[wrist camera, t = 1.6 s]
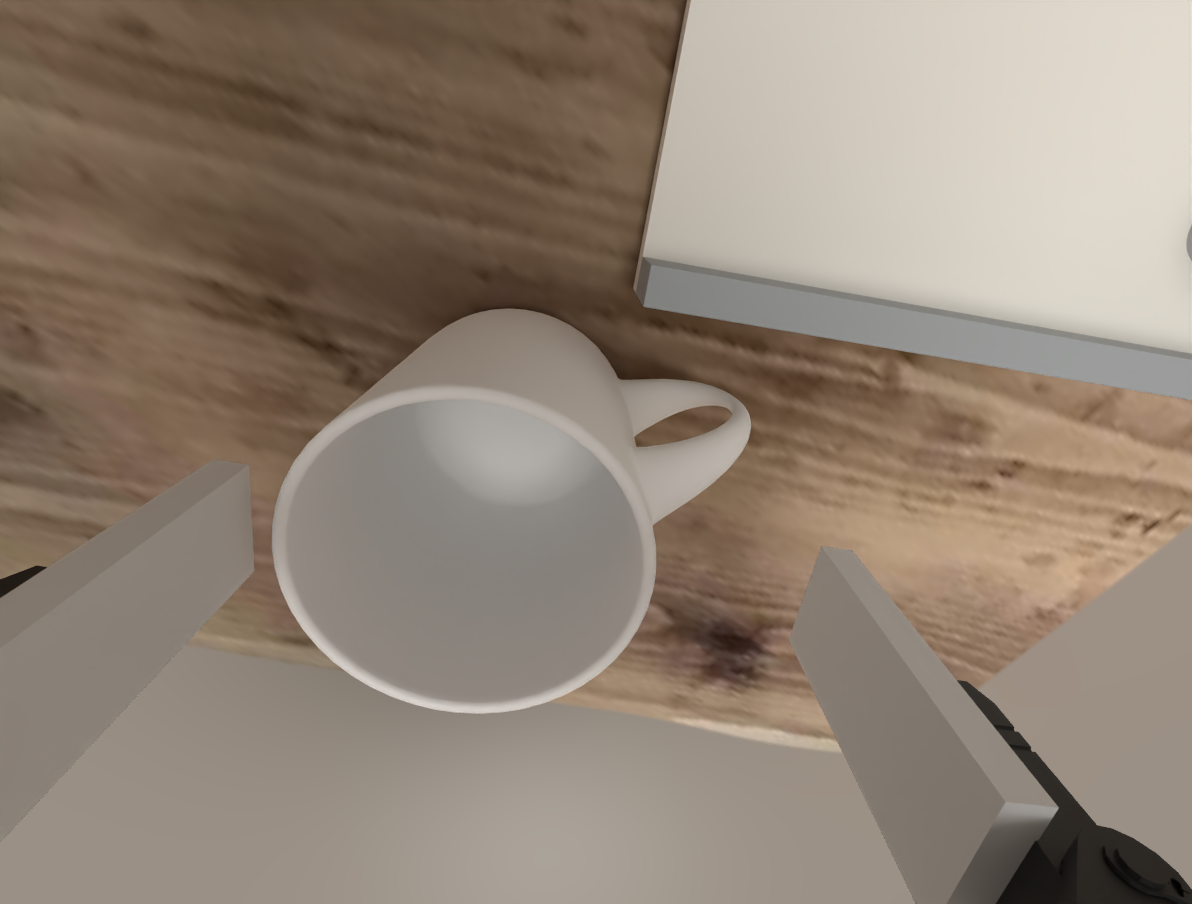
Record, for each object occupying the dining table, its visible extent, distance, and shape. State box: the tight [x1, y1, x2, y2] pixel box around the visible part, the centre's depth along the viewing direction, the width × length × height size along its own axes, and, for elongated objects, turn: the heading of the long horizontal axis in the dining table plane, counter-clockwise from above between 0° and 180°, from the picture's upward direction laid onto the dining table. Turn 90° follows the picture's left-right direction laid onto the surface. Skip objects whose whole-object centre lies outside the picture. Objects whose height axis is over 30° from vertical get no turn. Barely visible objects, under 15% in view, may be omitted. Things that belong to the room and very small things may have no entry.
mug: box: [272, 309, 751, 714], centre depth 18 cm, size 9×12×11 cm
